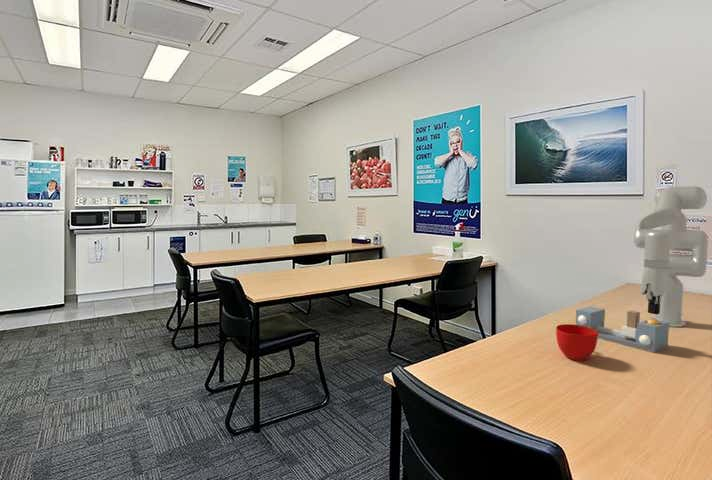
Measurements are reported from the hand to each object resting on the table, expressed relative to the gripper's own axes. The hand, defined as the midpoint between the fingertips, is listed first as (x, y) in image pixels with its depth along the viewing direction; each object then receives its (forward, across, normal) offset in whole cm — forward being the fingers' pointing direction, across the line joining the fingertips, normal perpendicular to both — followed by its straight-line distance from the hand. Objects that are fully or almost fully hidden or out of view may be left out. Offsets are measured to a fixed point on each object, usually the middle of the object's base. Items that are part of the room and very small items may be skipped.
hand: (653, 313), depth 150 cm
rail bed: (+13, 0, -12) cm, 18 cm away
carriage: (+11, 0, -7) cm, 13 cm away
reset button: (+6, 0, 0) cm, 6 cm away
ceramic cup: (+14, +31, -12) cm, 36 cm away
